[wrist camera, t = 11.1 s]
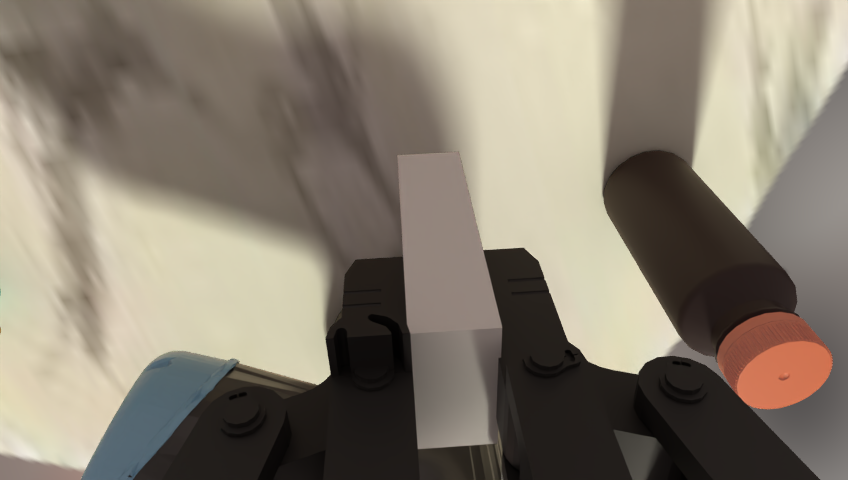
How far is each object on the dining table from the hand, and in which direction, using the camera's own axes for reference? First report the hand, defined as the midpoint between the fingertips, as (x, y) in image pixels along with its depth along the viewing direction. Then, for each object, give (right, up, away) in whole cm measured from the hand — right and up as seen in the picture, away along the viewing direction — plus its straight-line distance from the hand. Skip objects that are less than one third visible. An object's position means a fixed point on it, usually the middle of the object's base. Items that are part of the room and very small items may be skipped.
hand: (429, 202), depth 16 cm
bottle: (+17, +3, +33) cm, 37 cm away
